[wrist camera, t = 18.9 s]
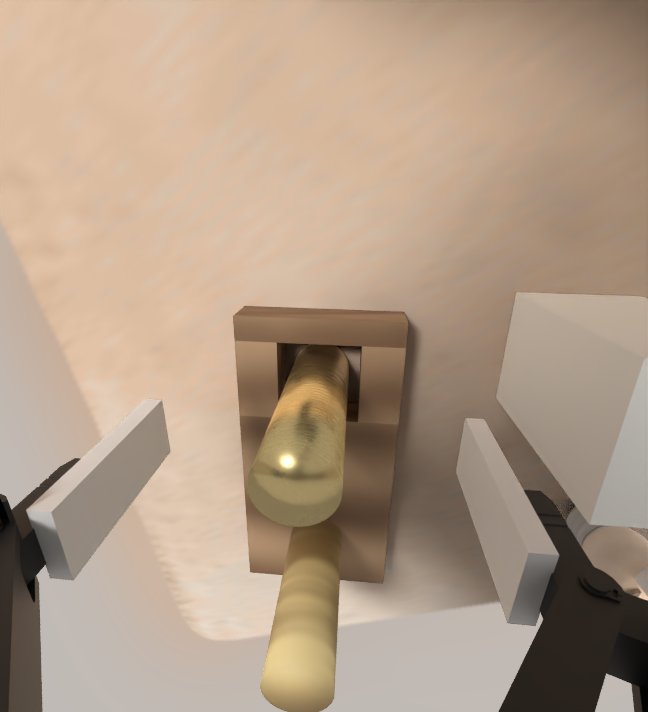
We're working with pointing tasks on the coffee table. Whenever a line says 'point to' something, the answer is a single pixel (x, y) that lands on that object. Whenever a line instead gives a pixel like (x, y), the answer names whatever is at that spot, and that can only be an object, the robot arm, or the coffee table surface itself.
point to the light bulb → (614, 552)
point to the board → (359, 496)
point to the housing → (583, 397)
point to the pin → (304, 442)
